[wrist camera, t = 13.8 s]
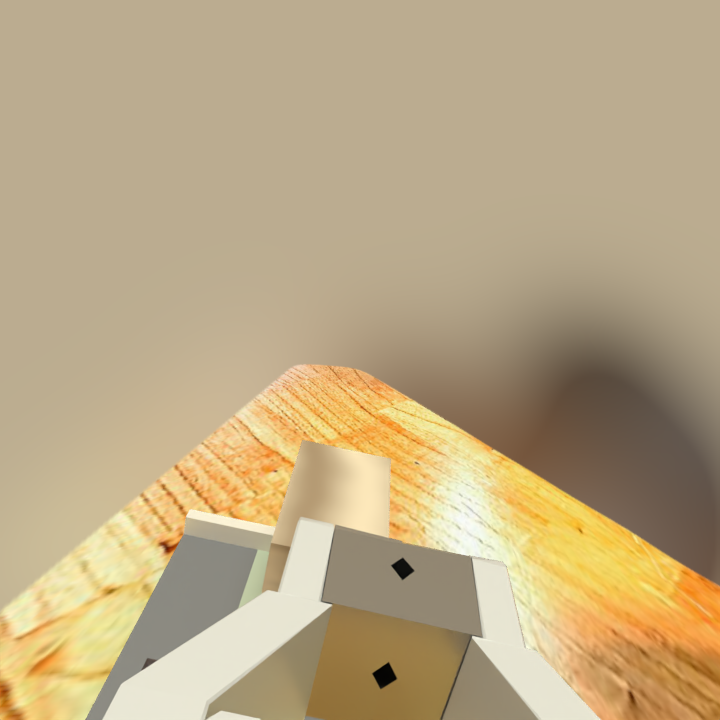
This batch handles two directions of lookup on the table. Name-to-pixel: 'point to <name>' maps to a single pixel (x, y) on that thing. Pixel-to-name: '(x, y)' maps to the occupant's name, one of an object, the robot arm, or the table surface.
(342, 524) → the maple block
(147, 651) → the trap runway
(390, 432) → the table surface
